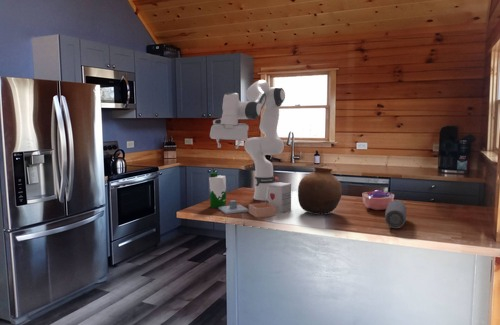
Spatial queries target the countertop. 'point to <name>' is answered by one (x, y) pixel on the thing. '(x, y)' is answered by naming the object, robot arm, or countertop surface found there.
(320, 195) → the pottery
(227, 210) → the lid
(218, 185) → the milk carton
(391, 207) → the bluetooth speaker
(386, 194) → the cell model
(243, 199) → the countertop surface
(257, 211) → the dish
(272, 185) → the supplement box
